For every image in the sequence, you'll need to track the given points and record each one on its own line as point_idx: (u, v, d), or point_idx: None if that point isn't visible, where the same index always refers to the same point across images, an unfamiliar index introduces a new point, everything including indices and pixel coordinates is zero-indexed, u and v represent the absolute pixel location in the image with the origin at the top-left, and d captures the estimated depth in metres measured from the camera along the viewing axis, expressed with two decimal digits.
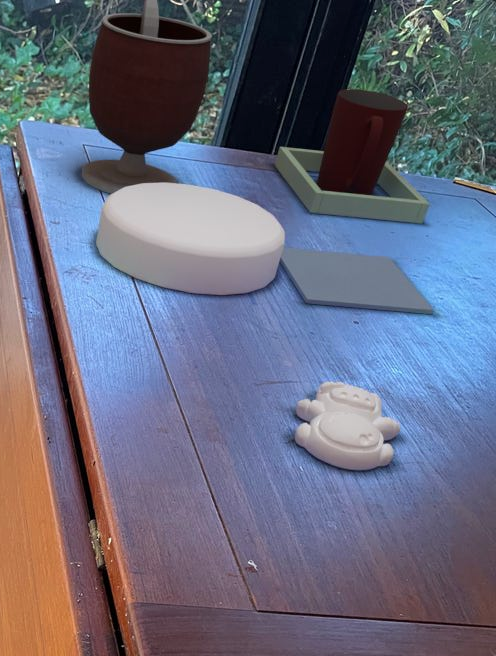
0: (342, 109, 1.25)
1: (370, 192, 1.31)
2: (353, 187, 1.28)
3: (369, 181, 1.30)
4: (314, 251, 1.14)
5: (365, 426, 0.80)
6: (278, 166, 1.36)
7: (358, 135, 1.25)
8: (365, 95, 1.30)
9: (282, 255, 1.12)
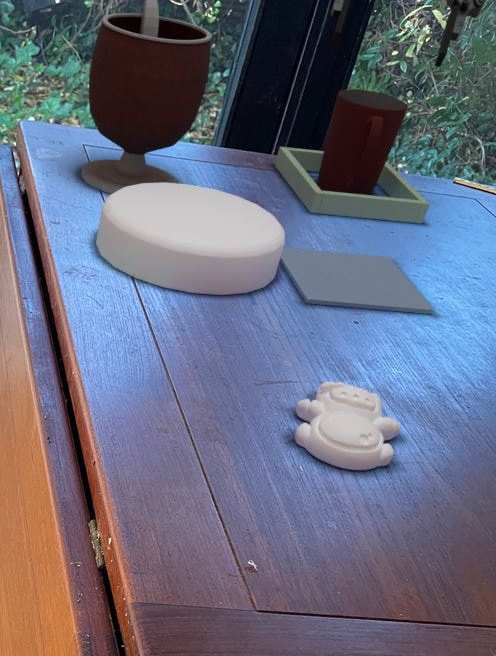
0: (342, 109, 1.25)
1: (370, 192, 1.31)
2: (353, 187, 1.28)
3: (369, 181, 1.30)
4: (314, 251, 1.14)
5: (365, 426, 0.80)
6: (278, 166, 1.36)
7: (358, 135, 1.25)
8: (365, 95, 1.30)
9: (282, 255, 1.12)
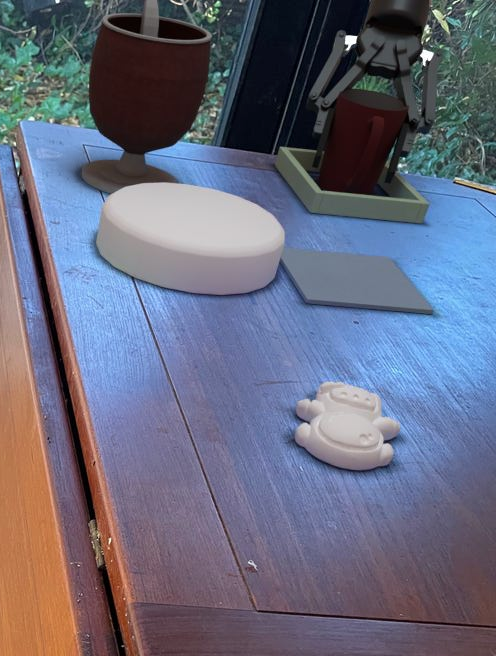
0: (343, 109, 1.25)
1: (370, 192, 1.31)
2: (353, 187, 1.28)
3: (369, 182, 1.30)
4: (314, 251, 1.14)
5: (365, 426, 0.80)
6: (278, 166, 1.36)
7: (359, 135, 1.25)
8: (366, 95, 1.30)
9: (282, 255, 1.12)
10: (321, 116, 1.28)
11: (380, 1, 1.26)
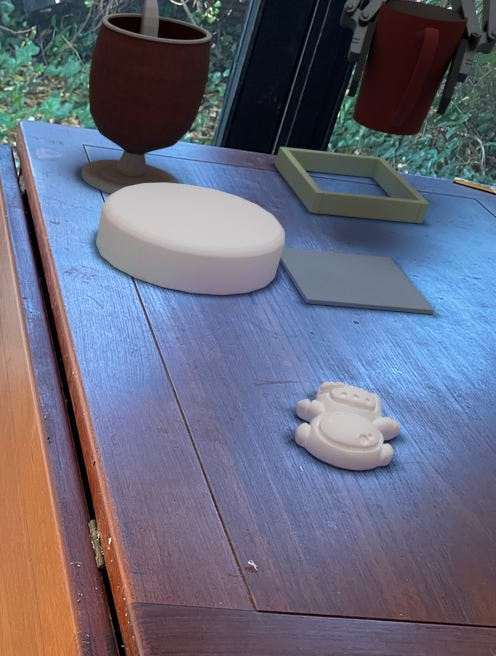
0: (387, 21, 1.02)
1: (418, 127, 1.08)
2: (398, 119, 1.05)
3: (418, 114, 1.06)
4: (314, 251, 1.14)
5: (365, 426, 0.80)
6: (278, 166, 1.36)
7: (406, 53, 1.02)
8: (414, 7, 1.06)
9: (282, 255, 1.12)
10: (359, 32, 1.04)
11: None
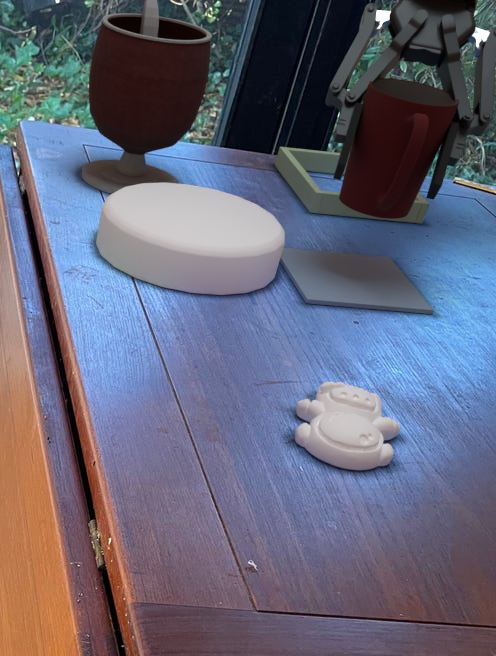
0: (375, 104, 0.97)
1: (407, 210, 1.03)
2: (387, 204, 1.00)
3: (407, 197, 1.02)
4: (314, 251, 1.14)
5: (365, 426, 0.80)
6: (278, 166, 1.36)
7: (394, 138, 0.97)
8: (403, 86, 1.01)
9: (282, 255, 1.12)
10: (345, 113, 1.00)
11: None
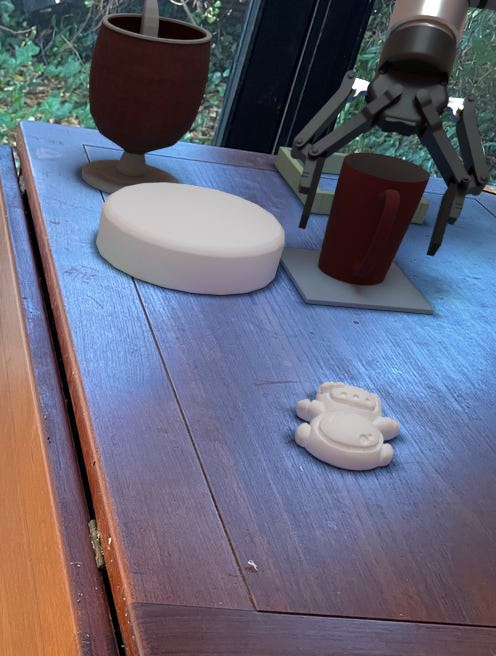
0: (349, 179, 1.02)
1: (383, 276, 1.08)
2: (362, 273, 1.05)
3: (382, 265, 1.07)
4: (314, 251, 1.14)
5: (365, 426, 0.80)
6: (278, 166, 1.36)
7: (368, 211, 1.02)
8: (377, 159, 1.06)
9: (282, 255, 1.12)
10: (309, 166, 1.05)
11: (396, 42, 1.03)
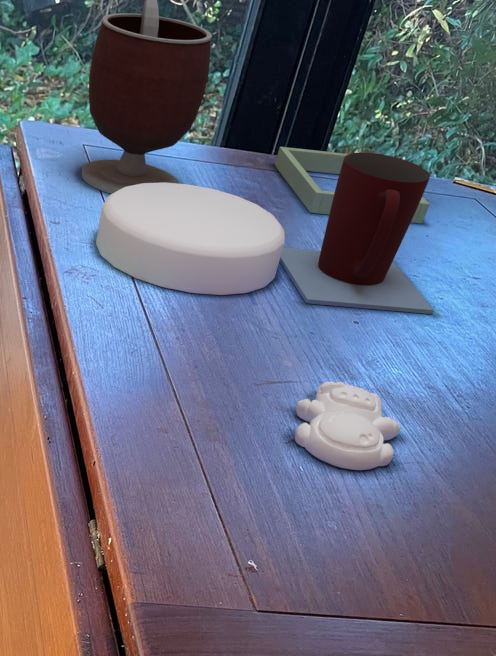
0: (349, 179, 1.02)
1: (383, 276, 1.08)
2: (362, 273, 1.05)
3: (382, 265, 1.07)
4: (314, 251, 1.14)
5: (365, 426, 0.80)
6: (278, 166, 1.36)
7: (368, 211, 1.02)
8: (377, 159, 1.06)
9: (282, 255, 1.12)
10: None
11: None
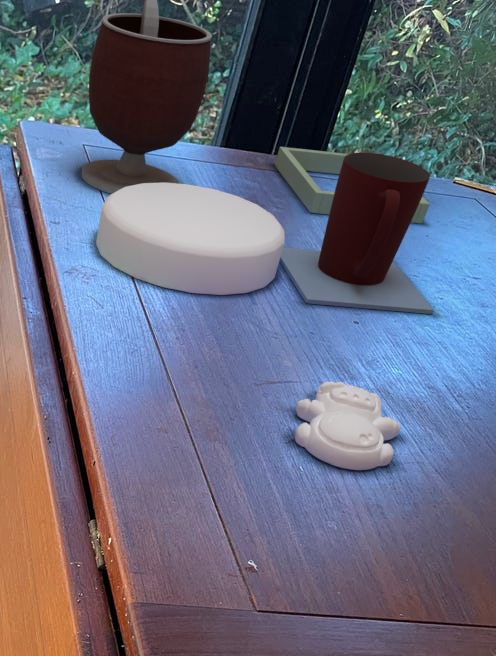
0: (349, 179, 1.02)
1: (383, 276, 1.08)
2: (362, 273, 1.05)
3: (382, 265, 1.07)
4: (314, 251, 1.14)
5: (365, 426, 0.80)
6: (278, 166, 1.36)
7: (368, 211, 1.02)
8: (377, 159, 1.06)
9: (282, 255, 1.12)
10: None
11: None
